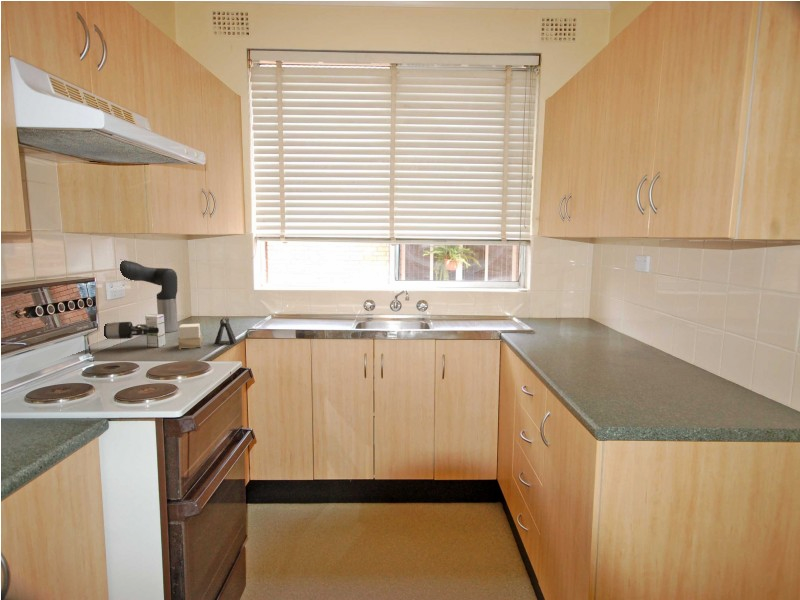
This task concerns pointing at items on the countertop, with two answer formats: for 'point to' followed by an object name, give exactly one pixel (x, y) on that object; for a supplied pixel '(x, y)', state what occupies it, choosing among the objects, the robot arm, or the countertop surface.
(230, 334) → the dark grey triangular frame
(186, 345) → the tower base block
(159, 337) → the syrup box
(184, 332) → the tower top block
